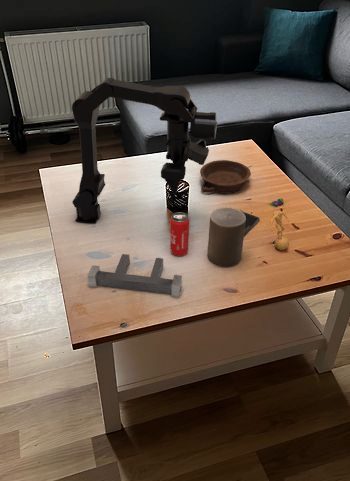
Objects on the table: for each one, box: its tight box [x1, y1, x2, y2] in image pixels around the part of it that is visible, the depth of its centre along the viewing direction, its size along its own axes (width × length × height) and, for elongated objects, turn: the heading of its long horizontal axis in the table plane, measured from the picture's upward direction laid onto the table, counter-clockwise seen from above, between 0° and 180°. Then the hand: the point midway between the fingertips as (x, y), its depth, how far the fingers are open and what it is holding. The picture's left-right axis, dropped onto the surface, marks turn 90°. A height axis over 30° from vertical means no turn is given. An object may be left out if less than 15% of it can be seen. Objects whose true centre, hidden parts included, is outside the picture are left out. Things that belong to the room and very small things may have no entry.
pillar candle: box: [206, 206, 246, 268], centre depth 132 cm, size 10×10×15 cm
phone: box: [240, 210, 260, 237], centre depth 148 cm, size 8×1×15 cm
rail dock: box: [87, 253, 183, 298], centre depth 128 cm, size 24×11×4 cm, turn 80°
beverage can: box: [169, 211, 190, 257], centre depth 135 cm, size 5×5×12 cm
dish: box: [199, 159, 252, 194], centre depth 168 cm, size 18×22×5 cm
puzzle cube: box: [268, 197, 284, 208], centre depth 158 cm, size 4×3×2 cm, turn 115°
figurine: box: [270, 210, 290, 251], centre depth 137 cm, size 8×6×12 cm
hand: (177, 185), depth 139 cm, fingers open, 9 cm apart
